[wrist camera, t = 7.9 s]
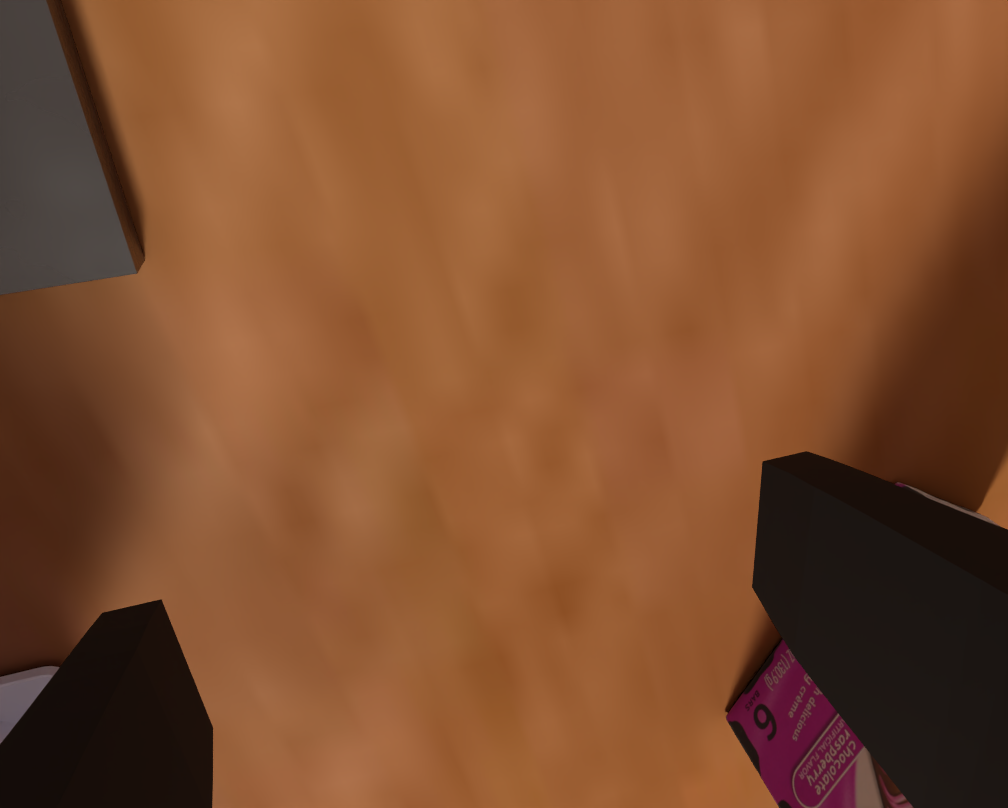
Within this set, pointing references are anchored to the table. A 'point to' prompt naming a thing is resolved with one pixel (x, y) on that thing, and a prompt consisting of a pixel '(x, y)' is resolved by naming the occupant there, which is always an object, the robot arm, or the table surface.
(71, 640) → the table surface
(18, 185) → the jack housing
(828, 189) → the table surface
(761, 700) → the candy bar box
